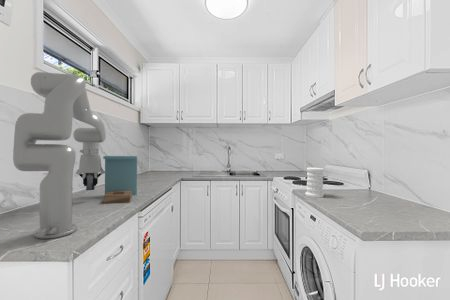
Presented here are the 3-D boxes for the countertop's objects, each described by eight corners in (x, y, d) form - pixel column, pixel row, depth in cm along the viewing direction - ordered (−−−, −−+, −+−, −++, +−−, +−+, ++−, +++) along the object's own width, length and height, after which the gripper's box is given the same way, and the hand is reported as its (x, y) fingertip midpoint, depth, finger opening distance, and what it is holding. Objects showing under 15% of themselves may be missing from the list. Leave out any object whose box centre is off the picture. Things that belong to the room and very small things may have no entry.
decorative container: (315, 198, 148) (316, 169, 148) (301, 194, 158) (302, 167, 158) (327, 196, 154) (328, 169, 153) (313, 192, 164) (314, 167, 163)
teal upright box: (136, 196, 142) (136, 156, 141) (103, 198, 136) (103, 156, 136) (136, 194, 149) (137, 155, 148) (105, 195, 143) (105, 155, 143)
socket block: (129, 202, 128) (129, 195, 128) (103, 203, 125) (103, 196, 124) (131, 197, 141) (131, 190, 141) (107, 198, 137) (107, 191, 137)
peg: (93, 190, 126) (93, 171, 126) (85, 190, 125) (85, 171, 125) (95, 188, 130) (95, 170, 130) (87, 189, 129) (87, 171, 129)
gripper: (70, 152, 122) (70, 187, 122) (106, 152, 127) (106, 186, 127) (75, 151, 129) (74, 185, 129) (108, 152, 134) (108, 184, 134)
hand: (90, 185), depth 128 cm, fingers closed on peg, 4 cm apart
